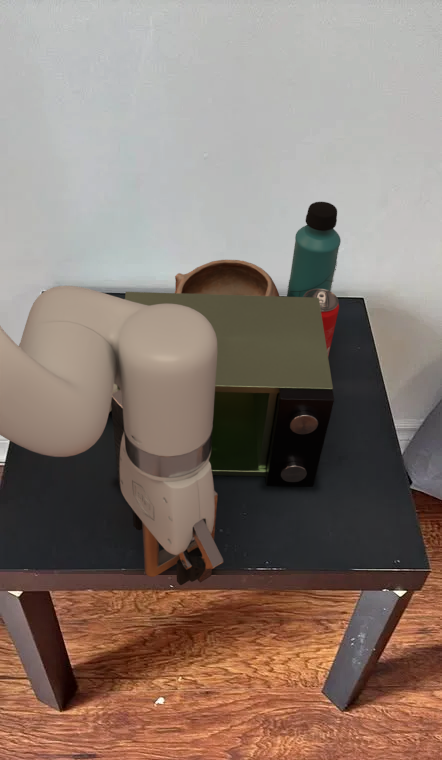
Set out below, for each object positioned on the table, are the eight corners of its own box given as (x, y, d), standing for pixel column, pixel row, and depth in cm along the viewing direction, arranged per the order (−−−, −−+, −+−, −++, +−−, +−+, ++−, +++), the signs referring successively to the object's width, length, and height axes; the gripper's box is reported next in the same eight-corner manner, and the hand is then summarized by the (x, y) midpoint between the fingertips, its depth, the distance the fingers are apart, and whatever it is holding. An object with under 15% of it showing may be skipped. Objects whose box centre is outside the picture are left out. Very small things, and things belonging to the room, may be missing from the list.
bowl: (166, 307, 115) (165, 251, 108) (265, 301, 118) (272, 246, 110) (178, 377, 106) (179, 322, 98) (286, 370, 108) (295, 315, 100)
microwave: (313, 492, 95) (335, 404, 82) (122, 489, 93) (115, 399, 81) (301, 388, 106) (318, 297, 93) (131, 384, 105) (125, 291, 92)
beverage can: (288, 375, 108) (299, 308, 98) (292, 351, 111) (303, 284, 101) (323, 381, 107) (338, 314, 98) (327, 356, 110) (341, 290, 101)
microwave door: (161, 606, 83) (159, 526, 71) (80, 501, 92) (67, 413, 79) (211, 576, 86) (218, 493, 74) (128, 477, 94) (122, 388, 82)
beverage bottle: (292, 344, 112) (312, 226, 96) (274, 317, 115) (290, 198, 100) (331, 335, 113) (357, 217, 98) (312, 308, 117) (333, 191, 101)
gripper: (79, 394, 67) (95, 509, 81) (190, 526, 59) (186, 629, 73) (150, 362, 70) (153, 479, 84) (264, 484, 62) (247, 591, 76)
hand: (168, 548), depth 78 cm, fingers open, 7 cm apart
